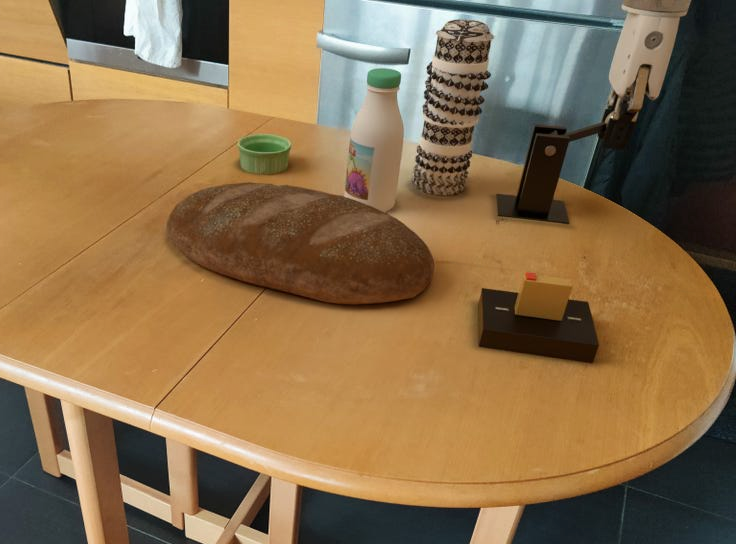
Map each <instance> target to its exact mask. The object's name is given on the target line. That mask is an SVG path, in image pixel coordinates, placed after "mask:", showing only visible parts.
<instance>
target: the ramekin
mask: <svg viewBox="0 0 736 544" xmlns="http://www.w3.org/2000/svg"><path fill="white" fill-rule="evenodd" d="M237 149H238V151H239V153H238V154H239V165H240V168H241V169H242V170H244V171H245V172H248V173H250V174H256V175H274V174H279V173H283V172H284V171H286V170H287V169H288V167H289V159H290V151H291V149H292V141H291V140H289V139H288V138H287V137H284V136H281V135H277V134H273V133H272V134H271V133H256V134H250V135H246V136H243V137H242V138H240V139H239V140H238V141H237Z"/></svg>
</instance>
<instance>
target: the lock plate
mask: <svg viewBox="0 0 736 544" xmlns="http://www.w3.org/2000/svg"><path fill="white" fill-rule="evenodd" d="M518 293H519V292H517V291H509V290H500V289H493V288H485V287H482V288H481V291H480V295H479V299H478V300H479V301H478V303H477V321H478V322H477V323H478V324H477V325H478V326H477V327H478V333H477V334H478V348H483V349H491V350H496V351H497V350H498V351H504V352H505V351H506V352H510V353H511V352H512V353H516V354H517V353H518V354H525V355H531V356H539V357H544V358H545V357H547V358H551V359H552V358H553V359H559V360H565V361H574V362H581V363H587V364H593V363H594V361H595V359H596V355H597V352H598V350H599V347H600V342H599V338H598V335H597V330H596V327H595V321H594V317H593V314H592V311H591V307H590V303H589V301H586V300H585V301H584V300H577V299H571V298H569V300H568V303H567V306H566V309H565V312H564V315H563V318H562V321H558V320H551V319H543V318H536V317H529V316H521V315H515V308H514V307H515V304H516V300H517V296H518Z"/></svg>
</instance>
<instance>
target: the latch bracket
mask: <svg viewBox="0 0 736 544" xmlns="http://www.w3.org/2000/svg"><path fill="white" fill-rule="evenodd" d="M555 130H557V133H558V135H550V134H546V133H549V132H552V131H555ZM567 131H568V128H567V126H558V125H548V124H536V123H535V124H533V127H532V131H531V132H532V133H531V135H530V140H529V144H528V148H527V152H526V156H525V160H524V164H523V169H522V172H521V176H520V179H519V185H518V188H517V192H516V195H514V194H506V193H505V194H503V193H496V195H495V196H496V197H495V198H496V209H497V210H496V212H497V217H501V218H510V219H520V220H528V221H536V222H537V221H538V222H547V223H555V224H562V225H563V224H565V225H569V224H570V221H569V217H568V212H567V210H566V209H567V208H566V205H565V202H564V200H560V199H554V197H555V194H556V190H557V186H558V184H559V183H558V182H559V179H560V176H561V172H562V169H563V165H564V162H565V158H566V155H567V151H568V148H569V144H570V142H569V141H570V137H569V136H561V135H563V134H566V133H567Z"/></svg>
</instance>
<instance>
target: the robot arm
mask: <svg viewBox="0 0 736 544" xmlns="http://www.w3.org/2000/svg"><path fill="white" fill-rule="evenodd" d="M691 2H692V0H623V1H622V4H621V10H622V11H625V12H627V14H626V18H625V19H624V23H623V26H622V28H621V32H620V35H619V37H618V41H617V44H616V47H615V50H614V54H613V57H612V60H611V65H610V67H609V74H608V81H609V83H610V85H611V89H610V94H609V96H608V100H607V102H606V108H604V112H603V114H602V118H601V122H604V121H605V120H606V118H607V116H608V115H609V114H610V113H612V112H613V111H614V114H613V118H610V119H609V122H608V125H607V128H606V131H604V132H601V133H597V138H598V139H602V141H601V147H602V149H607V150H616V151H617V150H619V151H625V150H626V149H628V146H629V143H630V141H631V137H632V133H633V131H634V128H635V124H636V122H637V119H638V116H639V112H640V110H642V108H643V103H644V99H645V95H646V96H647V97H648V99H649V100H650V101H655V100H657V98H658V97H659V96H660V93H661V90H662V87H663V83H664V80H665V76H666V73H667V70H668V66H669V63H670V59H671V56H672V53H673V50H674V46H675V42H676V38H677V34H678V29H679V25H680V20H681V17H684V16H686V15H687V13H688V11H689V8H690V5H691ZM601 122H600V123H601Z"/></svg>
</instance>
